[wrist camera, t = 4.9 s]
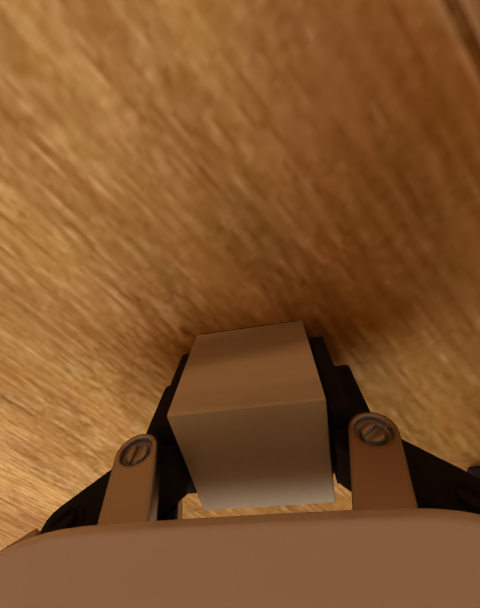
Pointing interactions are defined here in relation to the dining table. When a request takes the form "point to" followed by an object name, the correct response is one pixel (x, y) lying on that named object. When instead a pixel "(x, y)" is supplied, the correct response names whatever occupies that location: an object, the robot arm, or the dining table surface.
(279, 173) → the dining table surface
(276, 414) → the block
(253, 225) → the dining table surface
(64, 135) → the dining table surface
